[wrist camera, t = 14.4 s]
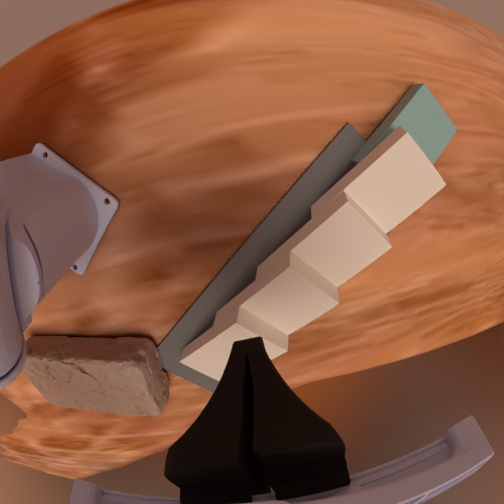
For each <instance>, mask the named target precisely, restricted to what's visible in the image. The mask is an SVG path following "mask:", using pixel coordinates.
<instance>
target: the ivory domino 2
mask: <svg viewBox="0 0 504 504" xmlns="http://www.w3.org/2000/svg"><path fill="white" fill-rule="evenodd" d="M391 247H392V245H391V243H390V241H389V239H388V236H387V234H386V233H385V232H384V231H383V230H382V229H381V228H380V227H379V226H378V224H377V223H376V222H375V221H374V220H373V219H372V218H371V217H370V216H369V215H368V214H367V213H366V212H365V211H364V210H363V209H362V208H361V207H360V206H359V205H358V204H357V203H356V202H355V201H354V200H353V199H352V198H351V197H350V196H349V195H348V194H347V193H346V192H345V191H344V190H343V191H342V192H341V193H340V194H339V195H338V196H337V197H336V198H334V199H333V200H332V201H331V202H330V203H329V204H328V205H327V206H325V207H324V208H323V209H322V210H321V211H320V212H319V213H318V214H317V215H315V216H314V217H313V218H312V219H311V220H310V221H309V222H308V223H306V224H305V225H304V226H303V227H302V228H301V229H300V230H299V231H297V232H296V233H295V234H294V235H293V236H292V237H291V238H289V239H288V240H287V241H286V242H285V243H284V244H283V245H282V246H280V247H279V248H278V249H277V250H276V251H275V252H274V253H272V254H271V255H270V256H269V257H268V258H267V259H266V260H264V261H263V262H262V263H261V264H260V265H259V266H258V267H257V273H256V279H257V278H259V277H260V276H261V275H262V274H264V273H265V272H266V271H267V270H268V269H270V268H271V267H272V266H273V265H274V264H276V263H277V262H278V261H279V260H280V259H282V258H283V257H284V256H285V255H286V254H287V253H289V252H292V253H293V254H294V255H296V256H297V257H298V258H299V259H301V260H302V261H303V262H305V263H306V264H307V265H309V266H310V267H311V268H312V269H314V270H315V271H316V272H318V273H319V274H320V275H322V276H323V277H324V278H325V279H327V280H328V281H329V282H331V283H332V284H333V285H334V286H336V287H339V286H340V285H342V284H343V283H345V282H346V281H347V280H349V279H350V278H351V277H353V276H354V275H356V274H357V273H358V272H360V271H361V270H362V269H364V268H365V267H366V266H368V265H369V264H370V263H372V262H373V261H374V260H376V259H377V258H378V257H380V256H381V255H382V254H384V253H385V252H386V251H387V250H389V249H390V248H391Z"/></svg>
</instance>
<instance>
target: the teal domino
mask: <svg viewBox="0 0 504 504" xmlns="http://www.w3.org/2000/svg"><path fill="white" fill-rule="evenodd" d="M399 126H401V127H402V128H403V129H404V130H405V131H407V132H408V133H409V135H410V136H411V137H412V138H413V140H414V141H415V142H416V143H417V145H418V146H419V147H420V149H421V150H422V151H423V153H424V154H425V155H426V157H427V158H428V159H429V161H430V162H431V163H432V165H433V164H434V162H435V161H436V160H437V158H438V157H439V156H440V154H441V153H442V151H443V150H444V148H445V147H446V146H447V144H448V143H449V141H450V140H451V138H452V137H453V135H454V134H455V132H456V131H457V130H456V128H455V127H454V125H453V124H452V122H451V120H450V119H449V117H448V116H447V114H446V113H445V111H444V110H443V109H442V107H441V106H440V104H439V103H438V102H437V100H436V99H435V97H434V96H433V95H432V93H431V92H430V91H429V89H428V88H427V87H426V85H425V84H417V85H412V86H411V88H410V89H409V90H408V91H407V93H406V94H405V95H404V96H403V98H402V99H401V100H400V101H399V102H398V104H397V105H396V106H395V107H394V109H393V110H392V111H391V112H390V113H389V115H388V116H387V117H386V118H385V119H384V121H383V122H382V123H381V124H380V126H379V127H378V128H377V129H376V130H375V132H374V133H373V134H372V135H371V136H370V138H369V139H368V140H367V141H366V142H365V144H364V145H363V146H362V147H361V148H360V150H359V151H358V152H357V153H356V154H355V156H354V157H353V158H352V159H351V161H352V162H353V163H354V164H355V165H357V164H358V163H359V162H360V161H361V160H363V159H364V158H365V157H366V156H367V155H368V154H369V153H370V152H371V151H372V150H374V149H375V148H376V147H377V146H378V145H379V144H380V143H381V142H382V141H383V140H384V139H386V138H387V137H388V136H389V135H390V134H391V133H392V132H393V131H394V130H395V129H397V128H398V127H399Z"/></svg>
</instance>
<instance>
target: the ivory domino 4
mask: <svg viewBox="0 0 504 504" xmlns="http://www.w3.org/2000/svg"><path fill="white" fill-rule="evenodd" d="M258 336H260V337H262V339H263V342H264V346H265V349H266V352H267V354H268V356H269V358H270V360H272V359H274V358H276V357H278V356H280V355H281V354H283V353H285V352H287V351H288V334H286V333H284V332H282V331H281V330H279V329H277V328H276V327H274V326H272V325H270V324H269V323H267V322H265V321H264V320H262V319H260V318H259V317H257V316H255V315H254V314H252V313H250V312H249V311H247V310H245V309H244V308H242V307H240V306H239V307H237V308H236V309H235V310H234V311H232V312H231V313H230V314H228V315H227V316H226V317H224V318H223V319H222V320H220V321H219V322H218V323H217V324H215V325H214V326H213V327H211V328H210V329H209V330H207V331H206V332H205V333H203V334H202V335H201V336H199V337H198V338H197V339H195V340H194V341H193V342H191V343H190V344H188V345H187V346H186V347H184V348H183V351H182V355H181V358H180V361H179V362H180V363H182V364H184V365H186V366H188V367H190V368H192V369H194V370H196V371H199V372H201V373H203V374H205V375H207V376H209V377H211V378H213V379H216V380H218V381H220V379H221V377H222V374H223V372H224V369H225V367H226V364H227V361H228V359H229V356H230V352H231V349H232V345H233V343H234V341H239V340H244V339H249V338H254V337H258Z"/></svg>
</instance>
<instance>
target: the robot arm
mask: <svg viewBox="0 0 504 504" xmlns="http://www.w3.org/2000/svg"><path fill="white" fill-rule="evenodd" d="M46 152H47V154H48V156H47V157H46V155H45V154H46ZM106 198H108V199H109V200H110V203H107V202H106ZM118 208H119V201H118V200H117V199H116V198H115V197H114V196H112V195H111V194H109V193H108V192H107V191H105V190H104V189H103V188H101V187H100V186H98V185H97V184H96V183H94V182H93V181H92V180H90V179H89V178H88V177H86V176H85V175H84V174H82V173H81V172H79V171H78V170H77V169H75V168H74V167H73V166H71V165H70V164H69V163H67V162H66V161H65V160H64V159H62V158H61V157H60V156H58V155H57V154H56V153H54V152H53V151H52V150H50V149H49V148H48V147H46V146H45V145H44V144H43V143H37V144H36V145H35V147H34V149H33V151H32V153H29V154H26V155H22V156H18V157H14V158H11V159H7V160H4V161H1V162H0V389H2V388H4V387H6V386H8V385H9V384H10V383H11V382H13V381H14V380H15V379H16V378H17V376H18V375H19V374H20V372H21V371H22V369H23V366H24V364H25V361H26V355H27V347H26V342H25V338H24V335H23V332H24V331H25V329H26V328H27V327H28V325H29V324H30V323H31V322H32V317H31V316H32V312H33V310H34V309H35V308H36V307H37V305H38V304H39V303H40V302H41V300H42V299H43V298H44V297H45V296H46V295H47V293H48V292H49V291H50V290H51V289H52V288H53V286H54V285H55V284H56V283H57V282H58V281H59V280H60V279H61V277H62V276H63V275H64V274H65V273H66V272H67V271H68V270H69V269H71V270H73V271H74V272H75V273H77V274H78V275H83V274H84V273H85V271H86V269H87V267H88V265H89V263H90V261H91V259H92V256H93V254H94V252H95V250H96V248H97V246H98V244H99V242H100V241H101V239H102V237H103V235H104V233H105V231H106V229H107V227H108V225H109V224H110V222H111V220H112V218H113V216H114V215H115V213H116V211H117V209H118ZM74 264H75V265H76V266H77V268H76V267H75V265H74ZM493 454H494V452H493V450H492V448H491V446H490V445H489V443H488V441H487V439H486V437H485V436H484V434H483V432H482V430H481V429H480V427H479V426H478V424H477V422H476V420H475V419H474V417H473V416H469V417H468V418H466V419H465V420H463V421H461V422H459V423H458V424H456V425H454V426H453V427H451V428H450V429H449V430H448V431H447V432H446V434H445V436H444V437H442V438H441V439H439V440H437V441H435V442H433V443H431V444H429V445H427V446H425V447H423V448H421V449H419V450H416V451H414V452H412V453H410V454H408V455H405V456H403V457H400V458H398V459H396V460H393V461H391V462H388V463H386V464H383V465H380V466H378V467H375V468H372V469H369V470H366V471H363V472H360V473H357V474H354V475H351V476H349V473H348V470H347V463H346V460H345V444H344V442H343V440H342V439H341V437H340V436H339V434H338V433H337V432H336V431H335V429H334V428H333V427H332V426H331V425H330V423H328V422H327V421H325V420H324V419H322V418H321V417H320V416H319V415H317V414H316V413H315V412H313V410H311V409H310V408H309V407H308V406H307V405H306V404H305V403H304V402H303V401H302V400H301V399H300V398H299V397H298V396H297V395H296V394H295V393H294V392H293V391H292V390H291V388H290V387H289V386H288V385H287V384H286V382H285V381H284V380H283V378H282V377H281V376H280V374H279V373H278V371H277V370H276V368H275V367H274V365H273V363H272V361H271V360H270V358H269V356H268V354H267V352H266V349H265V346H264V342H263V339H262V337H260V336H258V337H254V338H249V339H244V340H239V341H234V343H233V345H232V349H231V352H230V356H229V359H228V361H227V364H226V367H225V369H224V372H223V374H222V377H221V379H220V381H219V383H218V385H217V387H216V389H215V391H214V393H213V395H212V397H211V399H210V400H209V402H208V404H207V405H206V407H205V408H204V410H203V411H202V412H201V414H200V415H199V417H198V418H197V419H196V421H195V422H194V423H193V424H192V425H191V426H190V428H189V429H188V430H187V431H186V432H185V433H184V434H183V435H182V436H181V437H180V438H179V439H178V440H177V441H176V442H175V443H174V444H173V445H172V446H171V447H170V448H169V449H168V453H167V457H166V462H165V472H164V475H165V477H166V478H167V479H168V480H169V481H170V482H172V483H173V484H175V485H176V486H178V487H179V488H180V498H170V497H156V496H145V495H137V494H129V493H122V492H116V491H110V490H104V489H102V488H101V487H100V486H98V485H96V484H94V483H91V482H87V481H82V480H79V479H75V481H74V485H73V489H72V493H71V498H70V502H69V504H421V503H423V502H425V501H427V500H429V499H430V498H432V497H434V496H436V495H438V494H440V493H441V492H443V491H445V490H447V489H449V488H450V487H452V486H454V485H455V484H457V483H459V482H460V481H462V480H463V479H465V478H467V477H468V476H470V475H471V474H473V473H474V472H475V471H476V470H477V469H478V468H480V467H481V466H482V465H483V464H484V463H485V462H486V461H487V460H488V459H489V458H490V457H491V456H493ZM270 487H271V488H272V489H273V491H274V492H275V493H271V488H270Z"/></svg>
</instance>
